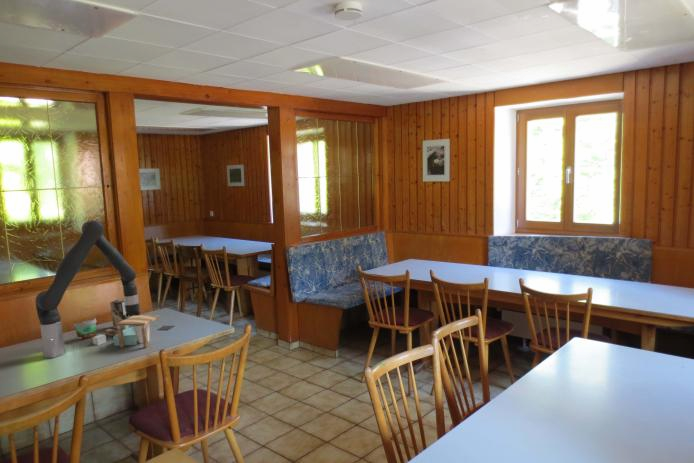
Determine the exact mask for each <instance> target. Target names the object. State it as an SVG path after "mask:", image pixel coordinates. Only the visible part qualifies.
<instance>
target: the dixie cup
mask: <svg viewBox="0 0 694 463" xmlns="http://www.w3.org/2000/svg"><path fill="white" fill-rule="evenodd" d="M150 325H151V322H150V323H148V324H146V330H147V339H148V343H149V342H150V327H151V326H150ZM133 326H134V329H135V333H136V339H137V344H143V336H142V328H141V325H133Z"/></svg>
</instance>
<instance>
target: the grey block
mask: <svg viewBox="0 0 694 463" xmlns="http://www.w3.org/2000/svg"><path fill="white" fill-rule="evenodd" d="M106 337H107V335H105V334H98V335H96V336H95V337H92V338H91V339H92V343H93V344H92V345H95V346H100V345H102V344H104V343H107V338H106Z"/></svg>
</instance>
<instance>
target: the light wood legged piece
mask: <svg viewBox="0 0 694 463" xmlns="http://www.w3.org/2000/svg"><path fill="white" fill-rule="evenodd" d="M160 317H161V316H160V315H159V314H158V315H156V314H149V315H147V314H146V315H145V314H142V315H133V316H131V317H129V318H127V319H125V320H123V321H121V322H119V323H117V328H116V330H118V336H119V344H120V346H119V348H121V349H123V348H125V347H126V345H124V338H123V330H124V329H122V325H141V328H142V336H143V343H142V344H143V348H144V349H147V348H149V342H148V339H147V330H146V324H148V323H150V324H151V323H152V322H153V321H155V320H157V319H159V318H160Z"/></svg>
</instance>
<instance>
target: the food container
mask: <svg viewBox="0 0 694 463" xmlns="http://www.w3.org/2000/svg"><path fill="white" fill-rule="evenodd" d="M97 322H98V321H97V319H96V317H94V318H93V319H89V320H84V321H81V322H78V323H77V322H74V323H73V328H74V329H75V334H76V337H77V340H78V341H85V340H86V339H87V340H90V339H93V338H92V337H95V336H97V326H96V323H97Z"/></svg>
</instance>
